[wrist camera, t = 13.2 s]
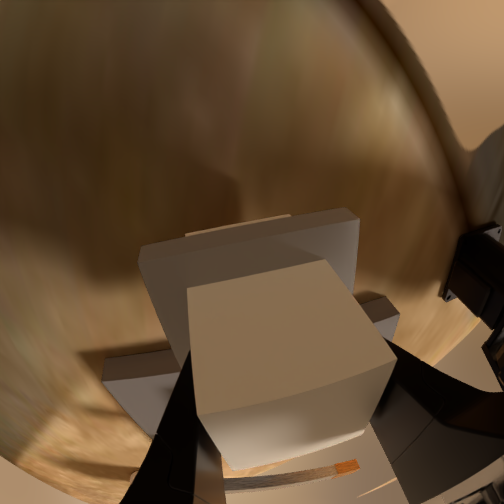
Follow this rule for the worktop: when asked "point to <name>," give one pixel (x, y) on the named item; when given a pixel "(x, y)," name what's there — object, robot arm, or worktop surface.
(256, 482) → the latch bar
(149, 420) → the socket block
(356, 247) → the plug
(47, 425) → the worktop surface
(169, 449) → the robot arm
